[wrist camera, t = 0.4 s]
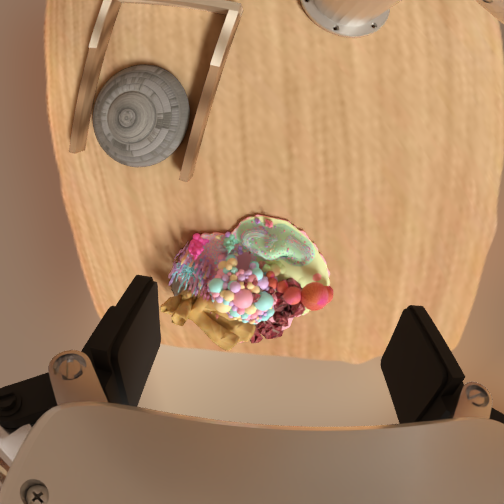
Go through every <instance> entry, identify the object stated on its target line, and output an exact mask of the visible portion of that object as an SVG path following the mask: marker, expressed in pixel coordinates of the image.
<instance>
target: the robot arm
mask: <svg viewBox="0 0 504 504" xmlns="http://www.w3.org/2000/svg"><path fill="white" fill-rule="evenodd" d="M300 1H301V4H302V7H303V9H304V10H305V12H306V14H307V15H308V16H309V17H310V19H311V20H312V21H313V22H314V23H316V24H317V25H318V26H319V27H321V28H322V29H324V30H326V31H328V32H330V33H332V34H335V35H338V36H342V37H350V38H356V37H363V36H367V35H370V34H372V33H374V32H376V31H377V30H379V29H380V28H381V27H382V26H383V25H384V24H385V22H386V20H387V19H388V16H389V12H390V8H391V7H393V6H394V5H396V4H397V3H399V2H400V1H402V0H308V2H305V0H300ZM476 1H477V2H478V3H479V4H480V5H481V6H483V7H484V8H485V9H486V10H488V11H489V12H490V13H491V14H492V15H493V16H494V17H495V18H497V19H498V20H499V21H500V22H501V23H503V24H504V0H476ZM371 25H372V26H374V28H372V26H371ZM333 28H336V30H334V29H333ZM160 342H161V334H160V320H159V304H158V286H157V282H155V281H153V279H152V277H148V276H142V275H136V276H135V278H134V279H133V281H132V282H131V284H130V285H129V287H128V288H127V290H126V291H125V293H124V294H123V296H122V297H121V299H120V300H119V302H118V303H117V305H116V306H111V307H110V308H109V309H108V310H107V312H106V313H105V315H104V316H103V318H102V319H101V321H100V323H99V324H98V326H97V327H96V329H95V331H94V332H93V333H92V335H91V337H90V338H89V340H88V341H87V343H86V344H85V346H84V348H83V349H82V351H81V352H80V351H77V350H68V351H63V352H61V353H59V354H57V355H56V356H54V357H53V358H52V360H51V361H50V363H49V366H48V370H49V372H48V373H45V374H42V375H39V376H36V377H33V378H30V379H27V380H24V381H21V382H18V383H15V384H12V385H8V386H5V387H3V388H0V504H504V414H502V413H500V412H499V411H497V410H495V409H494V408H492V396H491V394H490V392H489V391H488V389H486V387H484V386H483V385H481V384H479V383H477V382H468V383H466V384H465V385H464V384H463V382H462V381H463V380H464V378H465V376H464V374H463V372H462V370H461V368H460V366H459V365H458V363H457V361H456V359H455V358H454V356H453V354H452V352H451V351H450V349H449V347H448V346H447V344H446V342H445V340H444V339H443V337H442V335H441V334H440V332H439V331H438V329H437V327H436V326H435V324H434V322H433V321H432V319H431V318H430V316H429V314H428V313H427V311H426V310H425V308H424V307H423V306H414V305H410V306H408V307H407V309H404V310H403V312H402V315H401V317H400V319H399V322H398V324H397V326H396V328H395V331H394V333H393V335H392V337H391V340H390V342H389V344H388V346H387V348H386V350H385V352H384V354H383V356H382V359H381V369H382V371H383V374H384V377H385V380H386V383H387V386H388V389H389V392H390V395H391V398H392V401H393V404H394V407H395V410H396V414H397V417H398V420H399V423H400V424H392V425H376V426H353V427H302V426H279V425H263V424H251V423H239V422H231V421H222V420H214V419H207V418H200V417H193V416H187V415H180V414H173V413H168V412H162V411H157V410H152V409H147V408H141V407H137V405H138V403H139V400H140V397H141V394H142V391H143V389H144V386H145V383H146V381H147V378H148V375H149V373H150V370H151V367H152V365H153V362H154V360H155V357H156V354H157V352H158V349H159V347H160Z"/></svg>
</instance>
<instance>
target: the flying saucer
mask: <svg viewBox="0 0 504 504" xmlns="http://www.w3.org/2000/svg"><path fill="white" fill-rule="evenodd" d="M189 114H190V111H189V103H188V98H187V95H186V93H185V90H184V88H183V87H182V85H181V84H180V82H179V81H178V80H177V79H176V78H175V77H174V76H173V75H172V74H171V73H169V72H168V71H166V70H164V69H162V68H160V67H157V66H152V65H136V66H131V67H128V68H126V69H123V70H121V71H120V72H118V73H117V74H115V75H114V76H113V77H111V78H110V79H109V80H108V81H107V83H106V84H105V85H104V86H103V88H102V89H101V91H100V93H99V95H98V97H97V99H96V102H95V106H94V111H93V127H94V132H95V135H96V138H97V140H98V142H99V144H100V146H101V147H102V149H103V150H104V151H105V152H106V153H107V154H108V155H109V156H110V157H111V158H112V159H114V160H115V161H117V162H119V163H121V164H124V165H127V166H132V167H146V166H151V165H154V164H157V163H159V162H161V161H163V160H164V159H166V158H167V157H168V156H170V155H171V154H172V153H173V152H174V151H175V150H176V149H177V147H178V146H179V145H180V143H181V142H182V140H183V138H184V136H185V134H186V131H187V128H188V123H189Z"/></svg>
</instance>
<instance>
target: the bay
mask: <svg viewBox="0 0 504 504" xmlns="http://www.w3.org/2000/svg"><path fill="white" fill-rule="evenodd" d="M121 3H141V4H155V5H165V6H174V7H182V8H190V9H196V10H203V11H208V12H214V13H219V14H224V15H227V16H226V19H225V22H224V25H223V28H222V30H221V33H220V36H219V39H218V42H217V45H216V48H215V51H214V54H213V57H212V60H211V63H210V68H209V71H208V75H207V78H206V81H205V84H204V88H203V91H202V94H201V98H200V101H199V105H198V108H197V112H196V115H195V119H194V123H193V126H192V130H191V134H190V137H189V141H188V145H187V149H186V153H185V157H184V161H183V165H182V169H181V173H180V178H179V180H181V181H185V182H188V181H189V180H190V179H191V178H192V176H193V172H194V168H195V164H196V160H197V157H198V153H199V149H200V145H201V142H202V138H203V134H204V131H205V127H206V124H207V120H208V117H209V113H210V110H211V107H212V103H213V100H214V97H215V93H216V90H217V87H218V83H219V80H220V77H221V74H222V71H223V68H224V65H225V62H226V59H227V56H228V53H229V50H230V47H231V44H232V41H233V38H234V35H235V32H236V29H237V27H238V24H239V21H240V18H241V15H242V13H243V8H242V5H241V3H236V2H231V1H226V0H103V3H102V6H101V9H100V12H99V15H98V18H97V21H96V24H95V27H94V30H93V33H92V36H91V40H90V43H89V52H88V56H87V60H86V63H85V67H84V71H83V76H82V80H81V84H80V89H79V94H78V99H77V104H76V109H75V115H74V121H73V127H72V133H71V140H70V148H69V152H70V153H74V154H75V153H78V152H81V151H83V150H85V146H86V140H87V134H88V128H89V122H90V117H91V111H92V106H93V101H94V97H95V92H96V88H97V83H98V79H99V75H100V71H101V67H102V63H103V60H104V56H105V52H106V49H107V45H108V42H109V39H110V35H111V32H112V29H113V26H114V23H115V20H116V17H117V14H118V11H119V8H120V6H121Z"/></svg>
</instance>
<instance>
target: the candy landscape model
mask: <svg viewBox="0 0 504 504" xmlns="http://www.w3.org/2000/svg"><path fill="white" fill-rule="evenodd" d="M188 242H189V241H188ZM188 242H187V244H188ZM187 244H186V245H187ZM186 245H185V246H186ZM188 247H189V248H188ZM185 248H186V247H184V248H183V250H182V248H181V249H180V251H179V253H178V254H176V256H175V258H176V257H177V256H178V255H179V254H180V253H182V252H183V254H181V256H180V257H179V258H180V261H179V262H178V263H175V261H174V263H175V264H174V263H173V267H172V270H171V272H170V273H169V275H168V279H170V277H171V275H172V278H171V280H170V282H169V285H171V284H172V291H173V292H174V297H170V298H169V299H168V300H167V301H166V302H165V303H164V304H162V305H161V308H160V310H161V311H162V312H163V313H167V314H173V315H172V317H171V319H172V323H174V324H176V325H180V326H183V325H184V323H185V322H186V320H187V319H190V320H192V321H193V322H194V323H195V324H196V325H197V326H199V327H200V328H201V329H202V330H203V331H204V333H205V334H206V335H207V336H208V337H209V338H210V339H211V340H212V341H213V342H214V343H215V344H216V345H218V346H219V347H221V348H222V349H223V350H225V351H229V350H231V349H232V348H233V347H234V346H235V345H236V344H237V343H241V342H244V341H245V342H248V341H249V340H250V341H251V343H258V342H260V341H261V340H262V339H263V338H262V337H261V335H260V334H262V335H263V336H264V337H265V338H267V339H272V338H276V337H280V336H282V334H283V331H284V329H286V328H288V327H290V325H291V322H292V319H293V318H294V317H299V316H300V315H306V314H307V313H308V312H309V311H310V310H319V309H322V308H323V307H324V306H325V305H326V304H327V303H329V302H330V301H331V300H332V298H333V289H332V288H331V287H330V286H329V285H330V280H329V276H330V271H329V270H328V268H327V263H326V261H325V259H324V257H323V256H322V254H321V253H319V252H318V248H317V246H316V244H315V243H314V242H312V241H311V240H310V239H309V237H308V236H307V234H306V233H305V231H303V230H299V229H298V228H296V226H294V225H292V224H291V223H290V221H287V220H284V219H279V218H274V217H269V216H264V215H260V214H256V215H255V216H248V217H247V218H245V219H243V220H242V221H240V222H239V225H238V226H237V227H235V229H234V230H233V231H232V232H226V233H225V234H224V233H220V232H213V233H211V234H209V233H203V234H201V235H200V234H199V233H195V234H194V235H193V239H192V240H191V241H190V243H189V244H188V246H187V248H186V250H187V251H185ZM181 250H182V251H181ZM175 258H174V259H175ZM179 258H178V260H179ZM176 273H177V274H176Z"/></svg>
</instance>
